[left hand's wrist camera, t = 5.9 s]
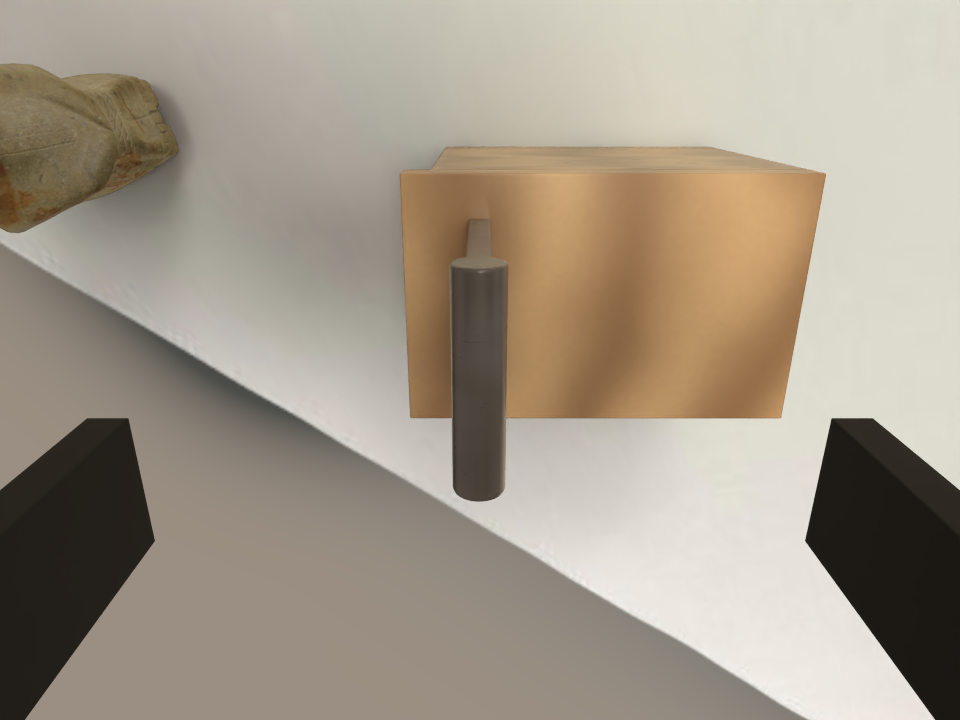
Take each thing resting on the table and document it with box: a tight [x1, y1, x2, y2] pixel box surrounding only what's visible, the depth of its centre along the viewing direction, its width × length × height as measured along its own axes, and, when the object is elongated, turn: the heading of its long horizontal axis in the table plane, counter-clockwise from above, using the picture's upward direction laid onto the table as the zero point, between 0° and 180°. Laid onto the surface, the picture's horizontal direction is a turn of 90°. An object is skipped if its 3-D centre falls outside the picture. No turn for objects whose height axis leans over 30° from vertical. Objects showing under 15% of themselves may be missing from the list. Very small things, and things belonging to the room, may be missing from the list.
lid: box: [400, 170, 826, 501], centre depth 21 cm, size 14×9×9 cm, turn 90°
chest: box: [431, 147, 807, 170], centre depth 30 cm, size 13×9×10 cm
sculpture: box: [0, 64, 179, 233], centre depth 25 cm, size 6×7×15 cm
